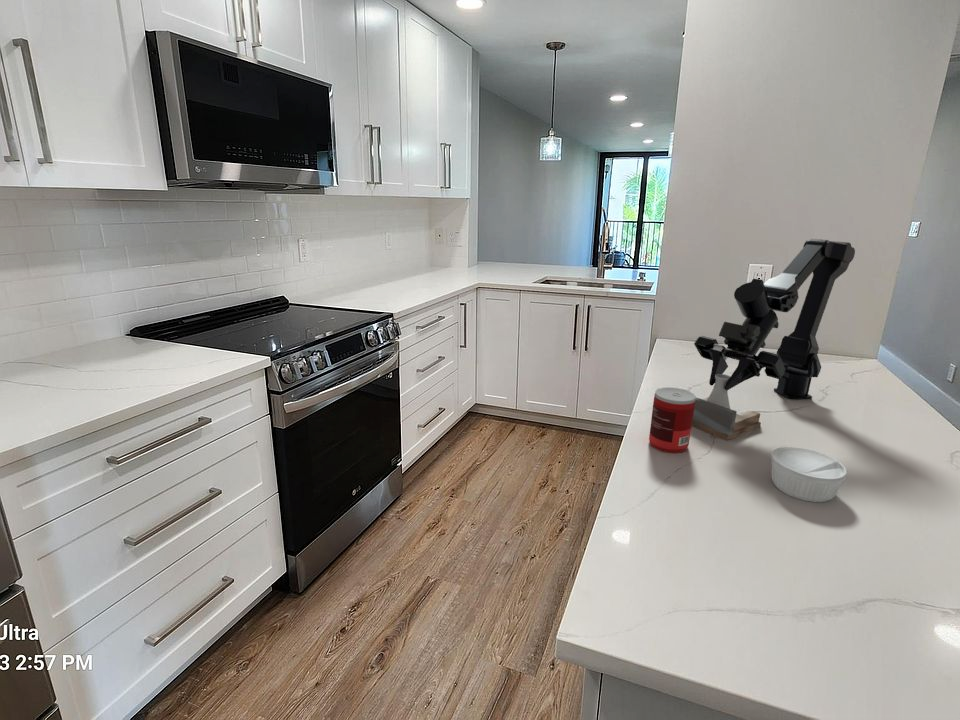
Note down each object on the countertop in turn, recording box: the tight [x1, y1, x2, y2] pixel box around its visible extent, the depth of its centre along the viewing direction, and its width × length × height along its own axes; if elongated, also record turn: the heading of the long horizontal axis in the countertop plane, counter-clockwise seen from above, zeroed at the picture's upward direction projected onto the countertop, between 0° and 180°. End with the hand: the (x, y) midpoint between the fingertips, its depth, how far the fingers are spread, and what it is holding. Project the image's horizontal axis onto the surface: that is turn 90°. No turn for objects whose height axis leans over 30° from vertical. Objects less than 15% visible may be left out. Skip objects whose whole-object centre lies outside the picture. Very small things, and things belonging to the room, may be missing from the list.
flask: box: [707, 373, 731, 409], centre depth 117 cm, size 7×7×10 cm
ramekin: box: [770, 446, 848, 503], centre depth 92 cm, size 11×11×5 cm
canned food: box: [648, 387, 696, 454], centre depth 106 cm, size 8×8×11 cm
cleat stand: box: [691, 397, 762, 441], centre depth 118 cm, size 13×13×6 cm
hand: (717, 386), depth 116 cm, fingers open, 3 cm apart
